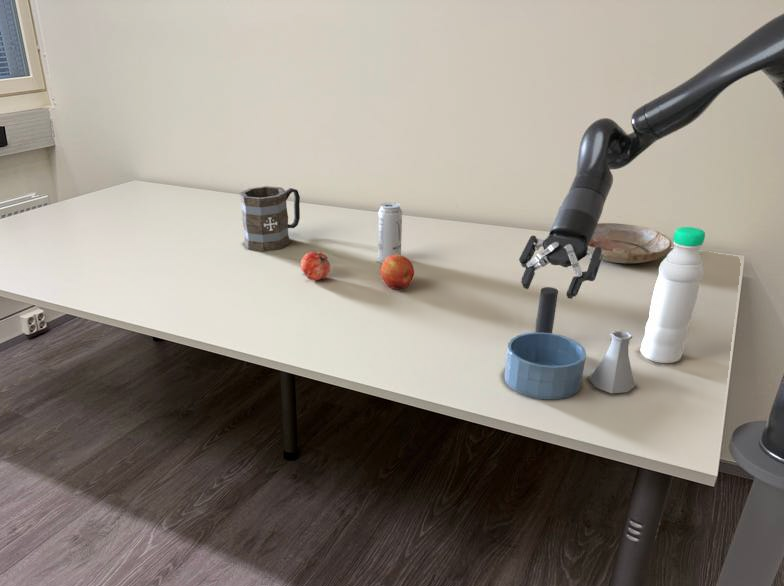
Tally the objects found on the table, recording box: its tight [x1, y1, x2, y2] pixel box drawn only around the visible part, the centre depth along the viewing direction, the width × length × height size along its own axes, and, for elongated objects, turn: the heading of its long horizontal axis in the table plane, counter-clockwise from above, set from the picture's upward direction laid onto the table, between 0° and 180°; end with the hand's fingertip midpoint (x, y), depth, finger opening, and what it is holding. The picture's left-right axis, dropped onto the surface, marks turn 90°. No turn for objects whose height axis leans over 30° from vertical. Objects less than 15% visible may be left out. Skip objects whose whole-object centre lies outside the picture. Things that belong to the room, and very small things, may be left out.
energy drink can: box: [377, 202, 403, 263], centre depth 175 cm, size 6×6×15 cm
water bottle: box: [640, 226, 706, 364], centre depth 122 cm, size 7×7×25 cm
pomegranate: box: [300, 250, 331, 281], centre depth 168 cm, size 7×7×10 cm
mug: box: [239, 185, 301, 252], centre depth 194 cm, size 20×14×15 cm
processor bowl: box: [503, 331, 587, 400], centre depth 120 cm, size 13×13×6 cm
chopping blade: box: [520, 286, 559, 335], centre depth 131 cm, size 8×8×12 cm
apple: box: [379, 254, 415, 290], centre depth 161 cm, size 8×8×8 cm
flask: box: [588, 330, 636, 394], centre depth 117 cm, size 7×7×10 cm
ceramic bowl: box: [588, 222, 672, 264], centre depth 173 cm, size 23×24×5 cm
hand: (546, 292), depth 127 cm, fingers open, 8 cm apart
